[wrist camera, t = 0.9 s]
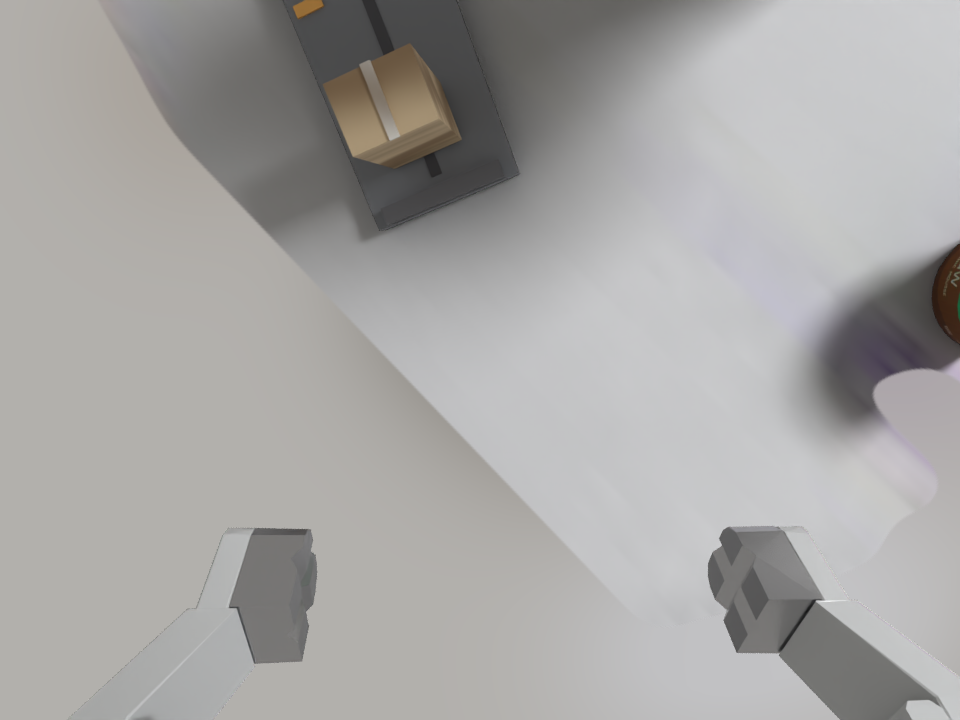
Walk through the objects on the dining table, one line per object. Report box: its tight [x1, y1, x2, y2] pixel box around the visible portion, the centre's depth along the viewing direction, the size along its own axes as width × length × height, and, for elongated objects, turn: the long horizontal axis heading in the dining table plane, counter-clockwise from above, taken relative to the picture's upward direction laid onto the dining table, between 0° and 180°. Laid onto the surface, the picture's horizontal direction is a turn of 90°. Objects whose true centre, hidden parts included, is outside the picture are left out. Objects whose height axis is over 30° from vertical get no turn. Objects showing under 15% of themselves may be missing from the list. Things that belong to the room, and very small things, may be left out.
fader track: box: [283, 0, 519, 231], centre depth 41 cm, size 25×11×3 cm, turn 22°
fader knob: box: [323, 43, 462, 169], centre depth 37 cm, size 4×5×10 cm
